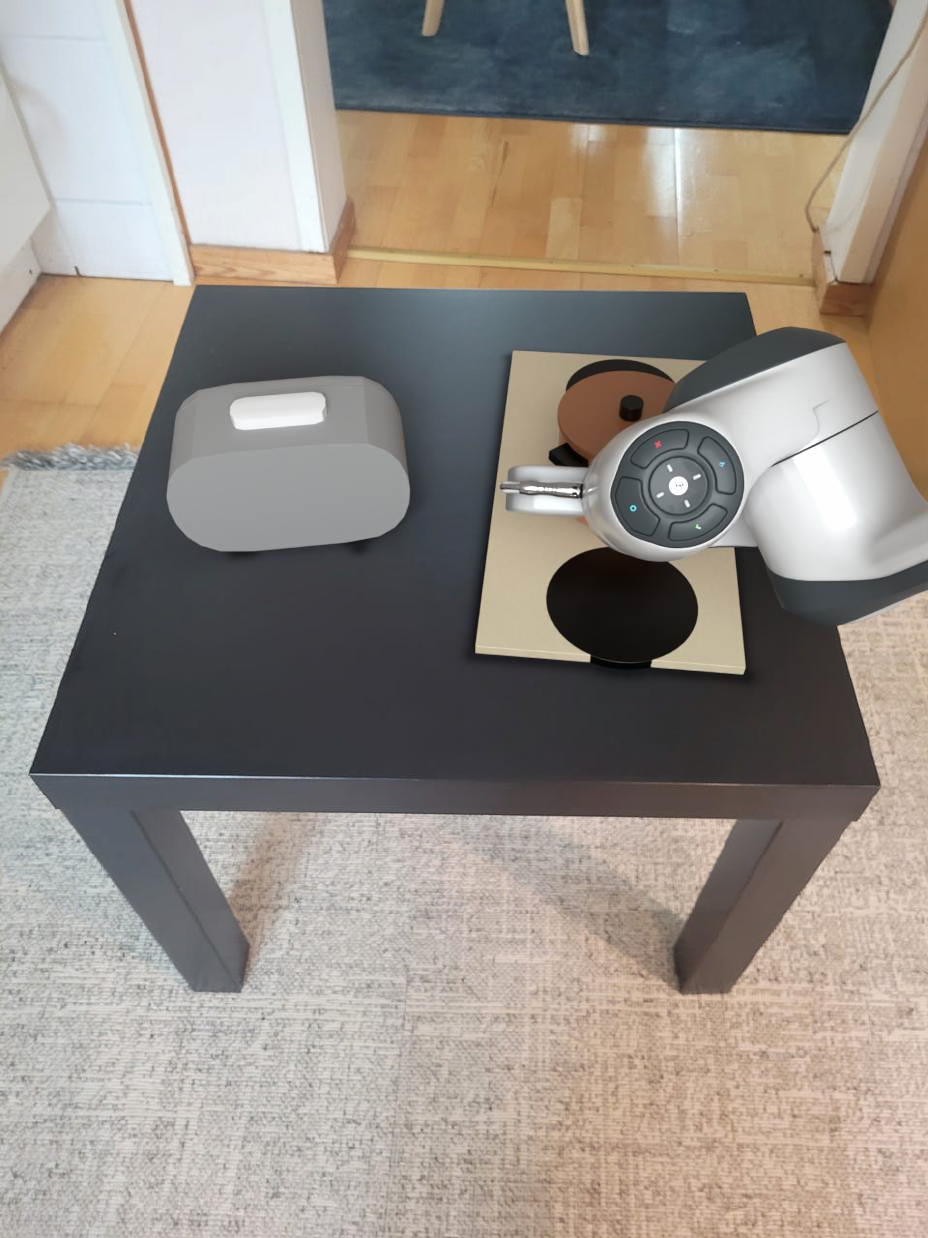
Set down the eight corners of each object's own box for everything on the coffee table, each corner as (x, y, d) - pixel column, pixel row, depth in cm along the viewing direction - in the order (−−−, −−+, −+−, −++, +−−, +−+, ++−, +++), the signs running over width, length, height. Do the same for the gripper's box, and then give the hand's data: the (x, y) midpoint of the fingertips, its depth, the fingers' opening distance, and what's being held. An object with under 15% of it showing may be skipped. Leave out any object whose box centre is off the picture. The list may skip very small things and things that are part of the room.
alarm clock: (405, 472, 92) (396, 356, 82) (414, 541, 86) (405, 427, 76) (194, 491, 91) (157, 376, 80) (188, 563, 85) (147, 449, 74)
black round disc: (693, 559, 84) (695, 551, 84) (700, 676, 76) (702, 669, 76) (549, 548, 85) (549, 541, 85) (540, 663, 77) (541, 656, 77)
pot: (634, 425, 95) (649, 335, 86) (724, 495, 88) (750, 404, 80) (511, 488, 89) (515, 398, 81) (598, 568, 82) (612, 479, 74)
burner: (677, 369, 102) (678, 361, 101) (681, 442, 94) (682, 434, 94) (566, 363, 103) (567, 355, 102) (562, 434, 95) (562, 426, 95)
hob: (714, 368, 102) (716, 361, 101) (743, 674, 76) (746, 667, 76) (512, 357, 104) (513, 349, 103) (475, 653, 78) (475, 646, 77)
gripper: (495, 529, 68) (501, 528, 81) (784, 548, 66) (740, 544, 80) (501, 441, 67) (506, 455, 81) (793, 458, 65) (748, 469, 79)
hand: (625, 499), depth 80 cm, fingers closed
